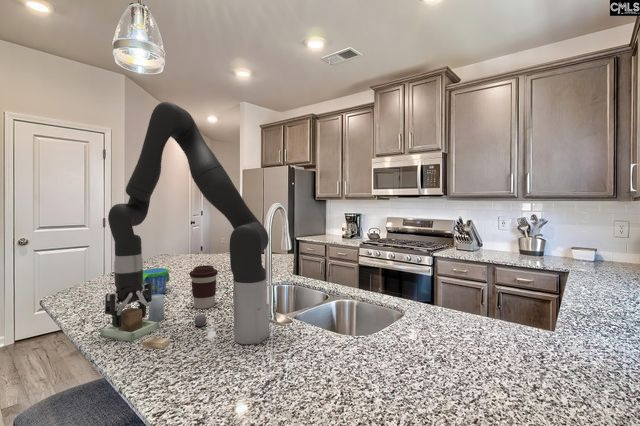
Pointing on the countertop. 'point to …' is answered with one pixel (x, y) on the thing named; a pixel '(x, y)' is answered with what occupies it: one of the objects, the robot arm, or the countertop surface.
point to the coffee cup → (204, 286)
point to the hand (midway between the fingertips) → (130, 322)
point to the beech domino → (155, 343)
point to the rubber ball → (200, 320)
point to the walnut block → (131, 320)
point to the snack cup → (156, 279)
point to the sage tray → (129, 336)
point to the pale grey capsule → (156, 308)
